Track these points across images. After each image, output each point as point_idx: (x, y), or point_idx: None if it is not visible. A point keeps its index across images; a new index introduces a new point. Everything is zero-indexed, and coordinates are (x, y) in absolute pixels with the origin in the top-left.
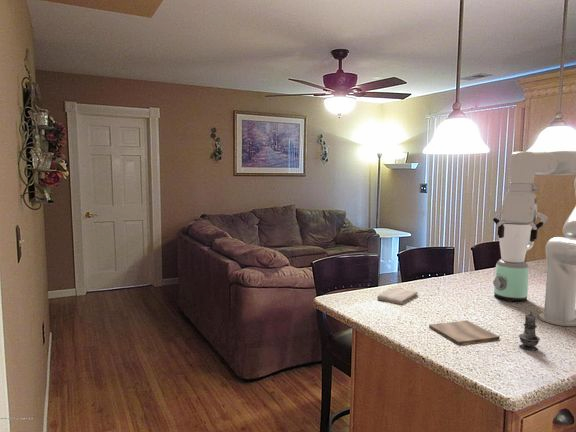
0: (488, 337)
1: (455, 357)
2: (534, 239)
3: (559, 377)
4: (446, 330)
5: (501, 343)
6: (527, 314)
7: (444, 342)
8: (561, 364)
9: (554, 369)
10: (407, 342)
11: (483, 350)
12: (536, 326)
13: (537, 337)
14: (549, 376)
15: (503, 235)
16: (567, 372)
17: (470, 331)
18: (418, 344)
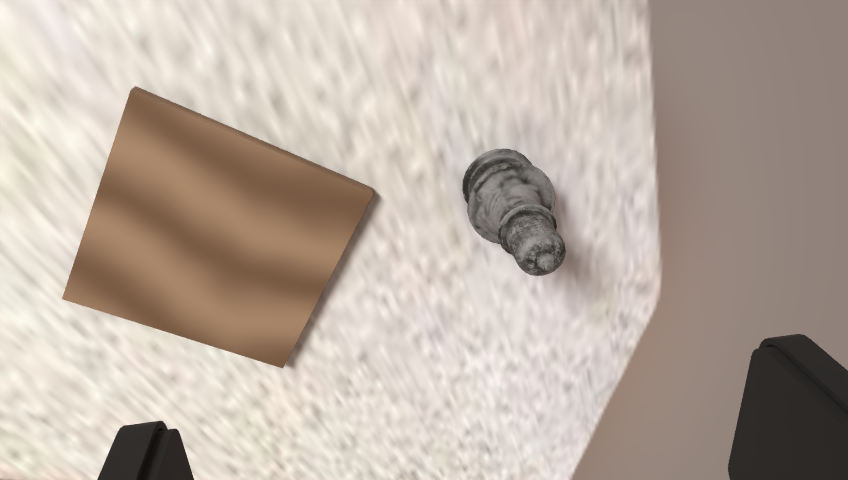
0: (342, 239)
1: (337, 446)
2: (810, 362)
3: (632, 343)
4: (168, 303)
5: (397, 221)
6: (528, 265)
7: (233, 377)
8: (628, 246)
9: (613, 302)
10: None
11: (376, 336)
12: (555, 223)
13: (544, 195)
14: (606, 358)
15: (173, 475)
16: (650, 293)
17: (246, 232)
18: None
